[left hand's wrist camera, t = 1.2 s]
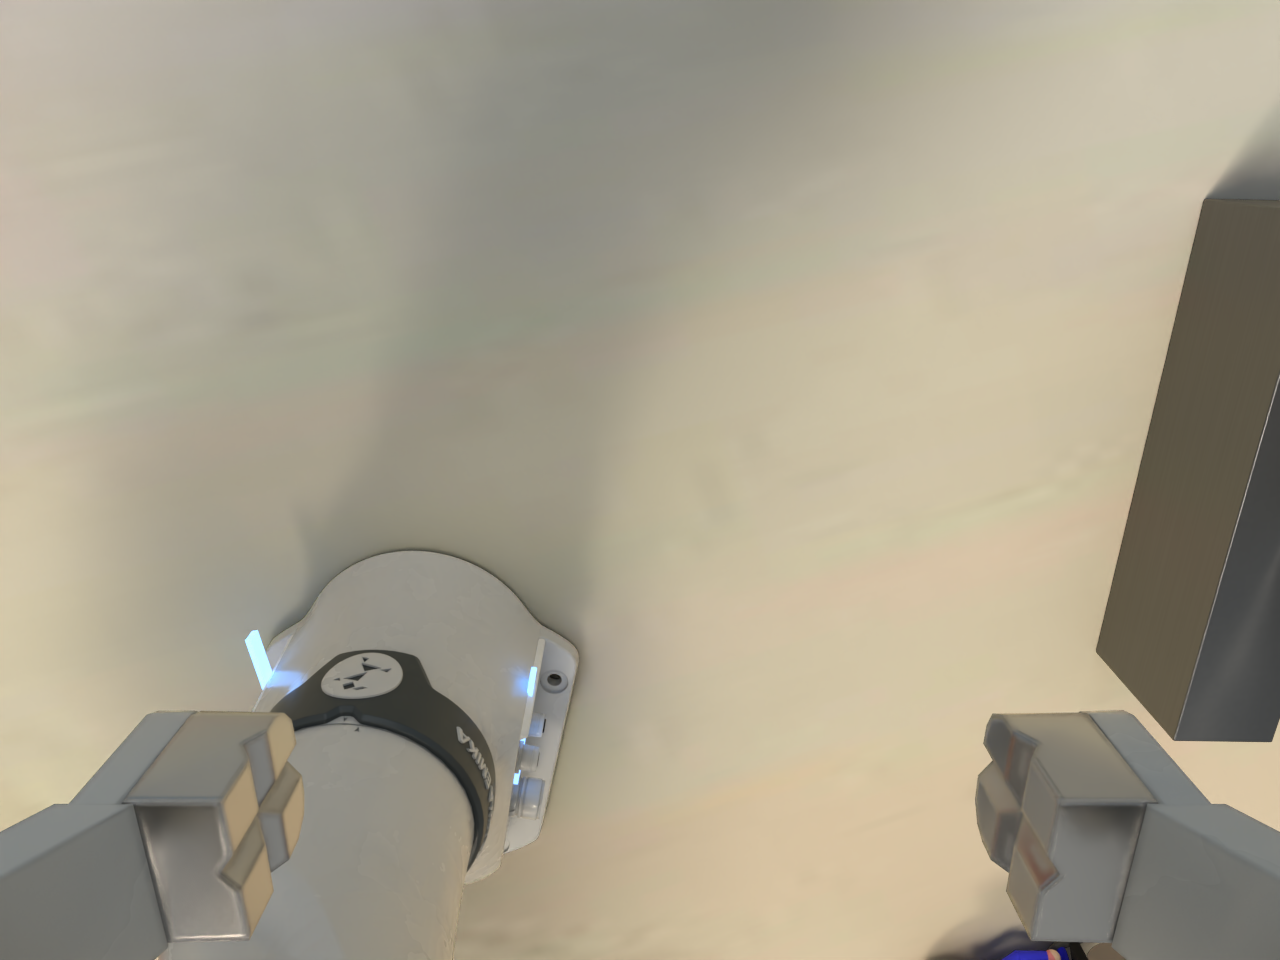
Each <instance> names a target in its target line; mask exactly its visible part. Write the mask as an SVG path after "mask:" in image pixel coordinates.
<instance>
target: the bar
mask: <svg viewBox="0 0 1280 960" xmlns="http://www.w3.org/2000/svg"><path fill="white" fill-rule="evenodd" d="M1096 652H1097V654H1098V655H1099V656H1100V657H1101V658H1102V659H1103V661H1104V662H1105V663H1106V664H1107V665H1108V666H1109V667H1110V669H1111V670H1112V671H1113V672H1114V673H1115V674H1116V675H1117V677H1118V678H1119V679H1120V680H1121V681H1122V682H1123V683H1124V684H1125V686H1126V687H1127V688H1128V689H1129V690H1130V691H1131V692H1132V694H1133V695H1134V696H1135V697H1136V698H1137V699H1138V700H1139V702H1140V703H1141V704H1142V705H1143V706H1144V707H1145V708H1146V710H1147V711H1148V712H1149V713H1150V714H1151V715H1152V716H1153V718H1154V719H1155V720H1156V721H1157V722H1158V723H1159V724H1160V726H1161V727H1162V728H1163V729H1164V730H1165V731H1166V732H1167V734H1168V735H1169V736H1170V737H1171V738H1172V739H1173V740H1174V741H1229V742H1272V740H1273V737H1274V734H1275V731H1276V728H1277V725H1278V722H1279V719H1280V200H1241V199H1205V200H1204V203H1203V207H1202V211H1201V215H1200V220H1199V224H1198V228H1197V232H1196V236H1195V240H1194V245H1193V249H1192V253H1191V257H1190V261H1189V266H1188V270H1187V274H1186V278H1185V282H1184V286H1183V291H1182V295H1181V299H1180V303H1179V307H1178V312H1177V316H1176V320H1175V324H1174V328H1173V332H1172V337H1171V341H1170V345H1169V349H1168V353H1167V358H1166V362H1165V366H1164V370H1163V374H1162V378H1161V383H1160V387H1159V391H1158V395H1157V399H1156V404H1155V408H1154V412H1153V416H1152V420H1151V424H1150V429H1149V433H1148V437H1147V441H1146V445H1145V450H1144V454H1143V458H1142V462H1141V466H1140V470H1139V475H1138V479H1137V483H1136V487H1135V491H1134V496H1133V500H1132V504H1131V508H1130V512H1129V516H1128V521H1127V525H1126V529H1125V533H1124V537H1123V542H1122V546H1121V550H1120V554H1119V558H1118V562H1117V567H1116V571H1115V575H1114V579H1113V583H1112V587H1111V592H1110V596H1109V600H1108V604H1107V608H1106V613H1105V617H1104V621H1103V625H1102V629H1101V633H1100V638H1099V642H1098V646H1097V650H1096Z"/></svg>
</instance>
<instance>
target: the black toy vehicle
mask: <svg viewBox="0 0 1280 960" xmlns="http://www.w3.org/2000/svg"><path fill="white" fill-rule="evenodd" d="M1080 943H1083V942H1055V943H1053V944H1052V945H1051V946H1050V947H1049V948H1048V950H1047V951H1019V950H1014V951H1013V952H1012V953H1010V954H1009V955H1007V956H1006V957H1004V958H1003V959H1001V960H1069V957H1068V954H1067V951H1066V949H1065V948H1067V947H1070V952H1071V959H1072V960H1126V959H1125V958H1124V957H1123V956H1121V955H1120V954H1119V953H1118V952H1117V951H1116V950H1114V949H1113V948H1112V947H1111V946H1112V943H1101V944H1098V945H1096V946H1094V947H1093V948H1092V949H1091V950H1090V951H1089V952H1088V955H1087V957H1086V955H1085V953H1084V951H1083V949H1082V947H1081V946H1080Z"/></svg>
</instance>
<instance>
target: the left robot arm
mask: <svg viewBox="0 0 1280 960" xmlns="http://www.w3.org/2000/svg"><path fill="white" fill-rule="evenodd" d="M245 642H246V644H247V647H248V650H249V653H250V656H251V659H252V661H253V664H254V667H255V670H256V673H257V676H258V678H259V681H260V684H261V687H262V692H261V694H260V696H259V698H258V700H257V702H256V704H255V706H254V708H253V710H252V712H229V711H200V712H197V711H156V712H153V713H150V714H148V715H146V716H145V717H144V718H143V719H142V721H141V722H140V723H139V724H138V725H137V726H136V727H135V729H134V730H133V731H132V732H131V733H130V734H129V735H128V737H127V738H126V739H125V740H124V741H123V742H122V743H121V745H120V746H119V747H118V748H117V749H116V750H115V751H114V753H113V754H112V755H111V756H110V757H109V758H108V759H107V761H106V762H105V763H104V764H103V765H102V766H101V767H100V769H99V770H98V771H97V772H96V773H95V774H94V775H93V777H92V778H91V779H90V780H89V781H88V782H87V784H86V785H85V786H84V787H83V788H82V789H81V790H80V792H79V793H78V794H77V795H76V796H75V797H74V798H73V800H72V801H71V802H70V803H69V804H54V805H52V806H50V807H48V808H46V809H44V810H42V811H40V812H38V813H36V814H34V815H32V816H30V817H28V818H26V819H24V820H23V821H21V822H19V823H17V824H15V825H13V826H11V827H9V828H7V829H5V830H3V831H1V832H0V960H154V959H156V958H157V957H158V960H453V956H454V947H455V937H456V929H457V922H458V915H459V909H460V903H461V897H462V892H463V886H464V885H467V884H471V883H474V882H477V881H480V880H482V879H484V878H486V877H488V876H490V875H491V874H493V873H494V872H495V871H496V870H498V869H499V867H500V866H501V862H502V857H503V854H505V853H508V852H511V851H514V850H517V849H520V848H522V847H524V846H526V845H528V844H530V843H532V842H534V841H535V840H536V839H537V838H538V836H539V834H540V831H541V827H542V824H543V820H544V816H545V812H546V808H547V803H548V799H549V794H550V790H551V785H552V781H553V776H554V772H555V767H556V763H557V758H558V754H559V749H560V745H561V740H562V736H563V731H564V726H565V722H566V717H567V713H568V708H569V704H570V699H571V695H572V690H573V686H574V681H575V677H576V672H577V668H578V663H579V654H578V651H577V649H576V648H575V647H574V646H573V645H572V644H571V643H570V642H569V641H568V640H566V639H565V638H563V637H562V636H560V635H558V634H557V633H555V632H553V631H552V630H550V629H548V628H546V627H544V626H543V625H541V624H540V623H539V622H538V621H537V620H536V619H535V618H534V617H533V616H532V615H531V614H530V613H529V611H528V610H527V609H526V607H525V606H524V605H523V604H522V602H521V601H520V600H519V598H518V597H517V596H516V595H515V594H514V593H513V592H512V591H511V590H510V589H509V588H508V587H507V586H506V585H505V584H503V583H502V582H501V581H500V580H498V579H497V578H496V577H494V576H493V575H492V574H490V573H488V572H487V571H485V570H483V569H482V568H480V567H478V566H476V565H474V564H472V563H469V562H467V561H464V560H462V559H459V558H456V557H453V556H449V555H445V554H441V553H435V552H428V551H397V552H390V553H385V554H380V555H377V556H373V557H370V558H368V559H365V560H362V561H360V562H358V563H356V564H354V565H352V566H350V567H349V568H347V569H346V570H344V571H343V572H341V573H340V574H339V575H337V576H336V577H335V578H334V579H333V580H332V581H331V582H329V583H328V584H327V586H326V587H325V588H324V589H323V590H322V592H321V593H320V594H319V596H318V597H317V599H316V600H315V602H314V604H313V605H312V607H311V609H310V610H309V612H308V613H307V614H306V616H305V617H304V618H303V619H302V620H301V621H300V622H298V623H296V624H294V625H293V626H291V627H289V628H288V629H286V630H284V631H283V632H281V633H280V634H279V635H277V636H276V637H275V638H274V639H273V640H272V641H271V642H270V644H269V646H268V648H267V650H266V652H265V650H264V647H263V644H262V642H261V639H260V636H259V633H258V630H256V631H252V632H251V633H250V635H249V636H248V637H247V638H246V640H245ZM551 674H557V675H559V676H560V677H561V678H559V679H553V678H551V677H550V676H549V675H551ZM983 744H984V745H985V747H986V749H987V751H988V753H989V754H990V756H991V758H992V760H993V761H992V762H991V763H990V764H989V765H988V766H987V767H986V768H985V769H984V770H983V771H982V772H981V773H980V774H979V775H978V781H977V789H976V797H975V804H976V815H977V825H978V828H979V831H980V835H981V838H982V842H983V844H984V846H985V848H986V851H987V853H988V855H989V857H990V859H991V860H992V861H993V862H995V863H996V864H997V865H999V866H1000V867H1002V868H1003V869H1004V870H1006V871H1007V872H1009V878H1008V883H1007V889H1006V892H1007V894H1008V896H1009V898H1010V900H1011V902H1012V904H1013V906H1014V908H1015V910H1016V912H1017V914H1018V916H1019V918H1020V920H1021V922H1022V924H1023V926H1024V928H1025V930H1026V932H1027V934H1028V936H1029V938H1030V940H1031V941H1058V942H1093V943H1112V946H1111V947H1112V948H1113V949H1114V950H1116V951H1117V952H1118V953H1119V954H1120V955H1121V956H1123V957H1124V958H1125V959H1126V960H1280V832H1279V831H1277V830H1275V829H1273V828H1271V827H1269V826H1267V825H1265V824H1263V823H1261V822H1259V821H1257V820H1255V819H1254V818H1252V817H1250V816H1248V815H1246V814H1244V813H1242V812H1240V811H1238V810H1236V809H1234V808H1232V807H1230V806H1228V805H1226V804H1211V803H1210V802H1209V801H1208V800H1207V798H1206V797H1205V796H1204V795H1203V794H1202V793H1201V792H1200V790H1199V789H1198V788H1197V787H1196V786H1195V785H1194V784H1193V782H1192V781H1191V780H1190V779H1189V778H1188V777H1187V776H1186V774H1185V773H1184V772H1183V771H1182V770H1181V769H1180V768H1179V766H1178V765H1177V764H1176V763H1175V762H1174V761H1173V759H1172V758H1171V757H1170V756H1169V755H1168V754H1167V753H1166V751H1165V750H1164V749H1163V748H1162V747H1161V746H1160V745H1159V743H1158V742H1157V741H1156V740H1155V739H1154V738H1153V737H1152V735H1151V734H1150V733H1149V732H1148V731H1147V730H1146V729H1145V727H1144V726H1143V725H1142V724H1141V723H1140V722H1139V721H1138V719H1137V718H1136V717H1135V716H1134V715H1132V714H1130V713H1128V712H1126V711H1124V710H1113V711H1081V712H1079V713H1010V714H992V716H991V718H990V720H989V722H988V724H987V726H986V732H985V737H984V743H983Z"/></svg>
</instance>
